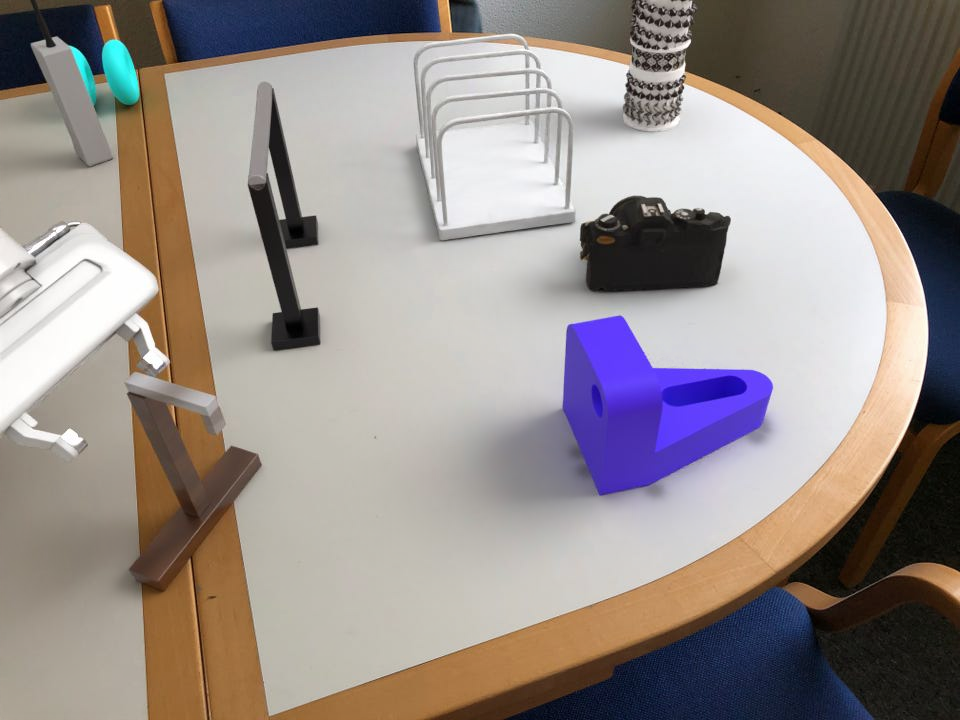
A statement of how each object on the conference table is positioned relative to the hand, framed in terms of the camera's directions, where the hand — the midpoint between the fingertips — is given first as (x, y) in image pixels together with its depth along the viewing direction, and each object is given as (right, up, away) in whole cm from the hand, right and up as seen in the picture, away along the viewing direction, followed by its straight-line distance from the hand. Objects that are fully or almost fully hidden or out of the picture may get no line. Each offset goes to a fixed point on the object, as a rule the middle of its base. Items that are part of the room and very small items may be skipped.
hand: (123, 410), depth 61 cm
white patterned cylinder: (+54, +40, +59) cm, 89 cm away
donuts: (-33, +46, +69) cm, 89 cm away
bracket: (+46, -3, +13) cm, 48 cm away
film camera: (+47, +15, +32) cm, 58 cm away
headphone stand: (+6, -10, +7) cm, 14 cm away
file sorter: (+29, +28, +47) cm, 62 cm away
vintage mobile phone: (-29, +34, +56) cm, 72 cm away
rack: (+6, +13, +32) cm, 35 cm away
